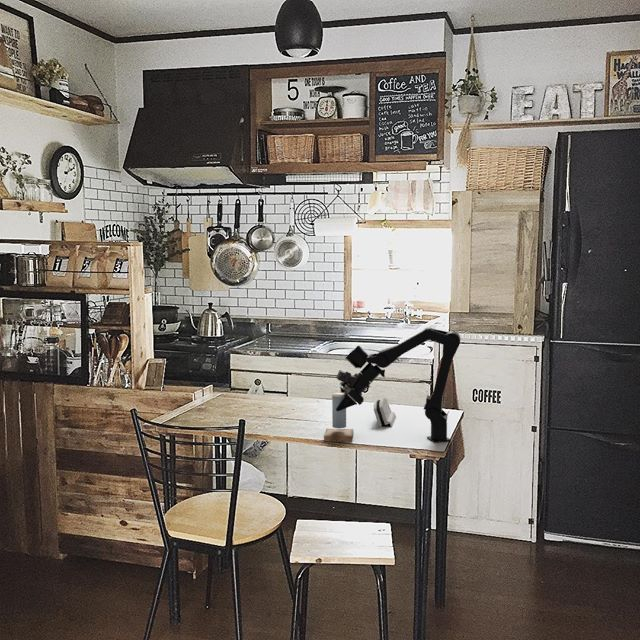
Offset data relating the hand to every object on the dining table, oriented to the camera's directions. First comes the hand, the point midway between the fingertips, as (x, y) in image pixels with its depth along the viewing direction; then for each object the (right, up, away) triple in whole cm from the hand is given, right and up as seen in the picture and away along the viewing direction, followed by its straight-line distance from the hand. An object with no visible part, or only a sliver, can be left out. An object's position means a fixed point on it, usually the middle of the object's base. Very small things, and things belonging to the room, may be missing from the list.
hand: (335, 408), depth 278 cm
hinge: (+20, -8, +25) cm, 33 cm away
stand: (+1, -11, +1) cm, 11 cm away
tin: (+1, -6, +1) cm, 7 cm away
